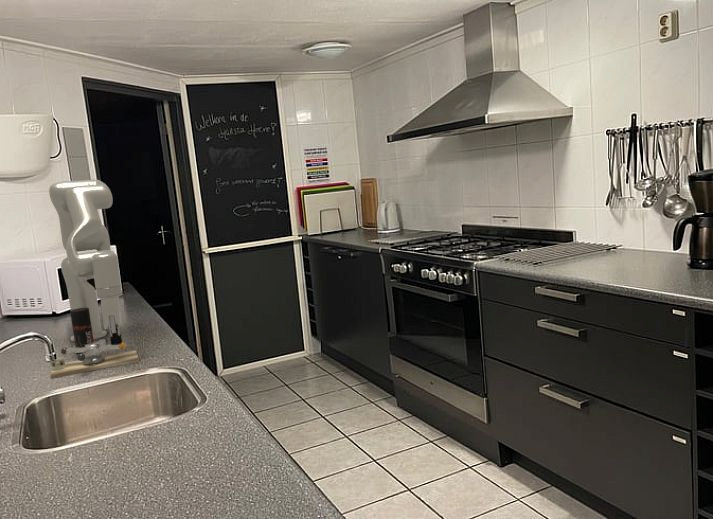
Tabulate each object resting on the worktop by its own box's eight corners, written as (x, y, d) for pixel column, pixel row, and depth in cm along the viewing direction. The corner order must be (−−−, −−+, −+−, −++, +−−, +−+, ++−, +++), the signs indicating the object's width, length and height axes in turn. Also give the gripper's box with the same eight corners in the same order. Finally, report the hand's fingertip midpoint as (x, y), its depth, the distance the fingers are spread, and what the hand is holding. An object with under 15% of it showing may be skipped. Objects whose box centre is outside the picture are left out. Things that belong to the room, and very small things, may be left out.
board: (53, 368, 190) (51, 356, 189) (136, 353, 200) (134, 341, 199) (51, 378, 180) (49, 365, 179) (138, 361, 190) (137, 349, 189)
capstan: (76, 353, 199) (74, 338, 199) (137, 348, 200) (135, 332, 199) (47, 373, 179) (45, 356, 179) (115, 367, 180) (113, 350, 179)
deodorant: (88, 354, 203) (81, 311, 201) (72, 354, 205) (66, 312, 202) (98, 349, 209) (92, 307, 207) (83, 349, 210) (77, 307, 208)
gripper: (98, 289, 195) (106, 344, 198) (94, 297, 181) (103, 356, 184) (122, 286, 197) (130, 340, 200) (121, 294, 183) (129, 351, 186)
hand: (117, 347), depth 192 cm, fingers closed
